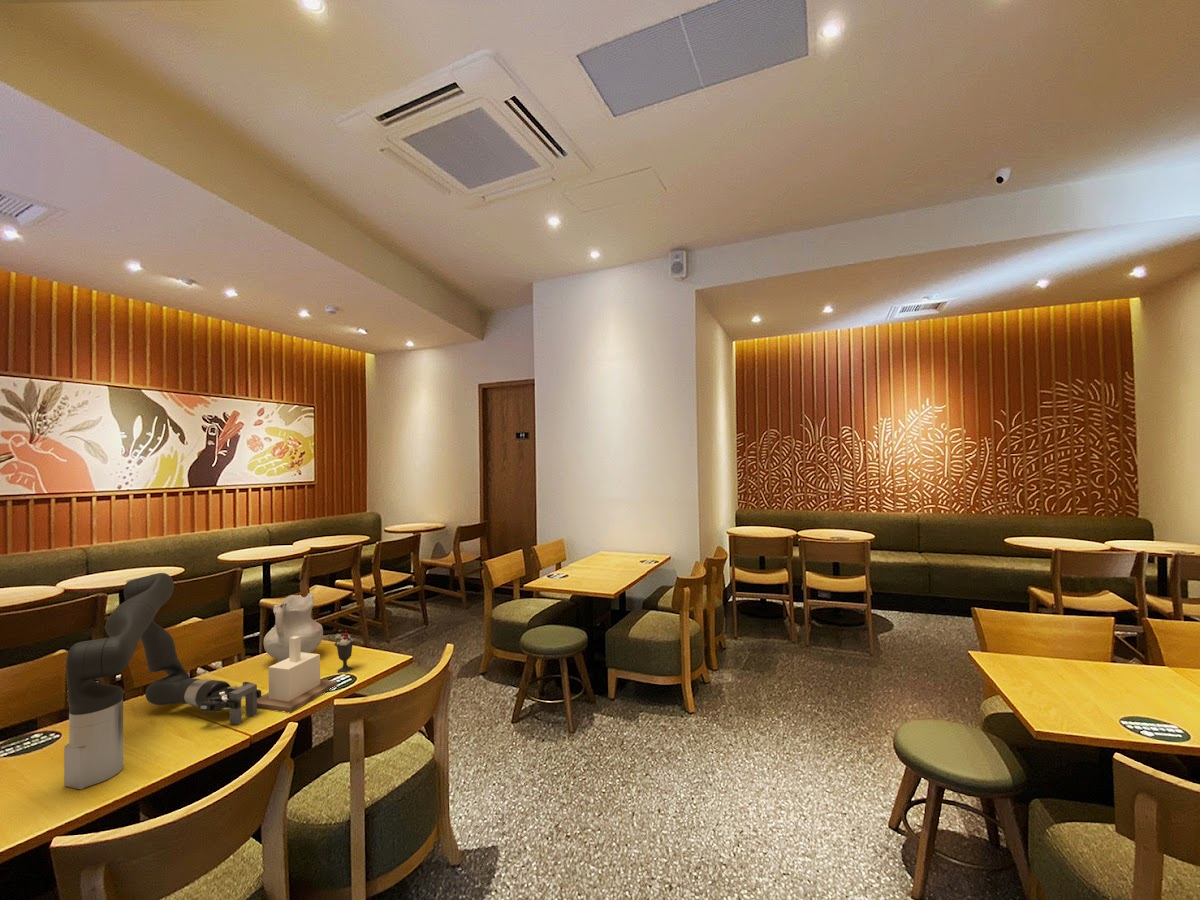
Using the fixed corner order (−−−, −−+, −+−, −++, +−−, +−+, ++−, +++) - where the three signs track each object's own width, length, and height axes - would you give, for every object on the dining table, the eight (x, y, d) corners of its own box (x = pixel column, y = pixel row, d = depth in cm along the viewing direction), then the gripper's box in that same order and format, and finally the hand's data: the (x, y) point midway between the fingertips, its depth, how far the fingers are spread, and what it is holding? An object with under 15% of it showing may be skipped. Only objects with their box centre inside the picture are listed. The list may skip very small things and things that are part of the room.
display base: (290, 712, 147) (290, 707, 147) (249, 706, 151) (249, 702, 151) (337, 685, 164) (337, 681, 164) (299, 681, 168) (299, 676, 168)
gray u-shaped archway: (237, 724, 140) (237, 693, 141) (229, 723, 141) (229, 692, 141) (257, 714, 146) (256, 684, 146) (249, 713, 147) (249, 683, 147)
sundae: (346, 674, 173) (346, 632, 173) (330, 673, 174) (330, 631, 174) (359, 666, 179) (358, 626, 179) (343, 665, 180) (343, 625, 181)
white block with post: (288, 701, 151) (288, 645, 151) (268, 698, 153) (268, 643, 153) (320, 684, 162) (319, 631, 163) (301, 681, 164) (300, 630, 165)
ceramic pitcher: (315, 671, 178) (320, 603, 180) (252, 677, 171) (258, 606, 173) (324, 650, 198) (329, 589, 200) (268, 654, 191) (274, 591, 193)
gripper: (181, 692, 141) (225, 698, 136) (230, 671, 155) (272, 676, 150) (181, 718, 141) (225, 725, 136) (231, 694, 155) (272, 700, 150)
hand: (249, 699), depth 143 cm, fingers closed on gray u-shaped archway, 6 cm apart
